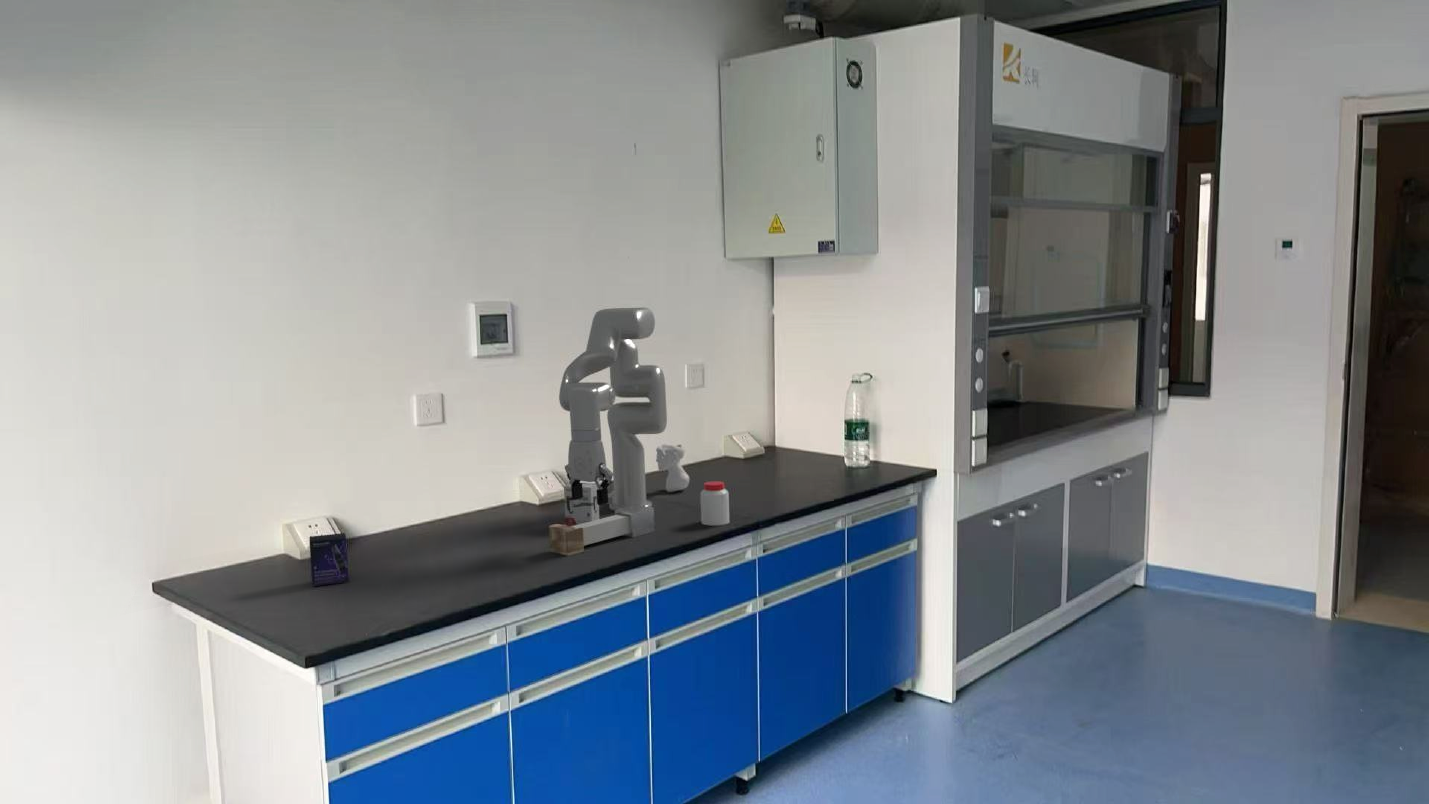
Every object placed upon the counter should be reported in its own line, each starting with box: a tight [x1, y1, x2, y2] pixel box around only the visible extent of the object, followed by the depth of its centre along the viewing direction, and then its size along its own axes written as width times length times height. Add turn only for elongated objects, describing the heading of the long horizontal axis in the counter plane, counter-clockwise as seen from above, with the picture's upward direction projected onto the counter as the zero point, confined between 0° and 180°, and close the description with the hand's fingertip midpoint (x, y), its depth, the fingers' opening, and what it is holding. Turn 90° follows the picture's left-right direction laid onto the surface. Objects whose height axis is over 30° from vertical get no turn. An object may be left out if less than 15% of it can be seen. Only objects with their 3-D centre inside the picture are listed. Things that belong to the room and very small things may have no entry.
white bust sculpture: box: [655, 443, 690, 493], centre depth 321 cm, size 10×11×15 cm
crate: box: [548, 523, 585, 557], centre depth 251 cm, size 7×5×7 cm
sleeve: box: [614, 505, 656, 538], centre depth 269 cm, size 7×8×6 cm
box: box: [308, 532, 350, 588], centre depth 231 cm, size 8×6×11 cm
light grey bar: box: [571, 514, 631, 546], centre depth 259 cm, size 4×22×5 cm, turn 138°
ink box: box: [563, 482, 600, 527], centre depth 278 cm, size 9×5×12 cm, turn 70°
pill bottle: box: [699, 480, 730, 527], centre depth 277 cm, size 8×8×11 cm
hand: (590, 501), depth 257 cm, fingers open, 9 cm apart
